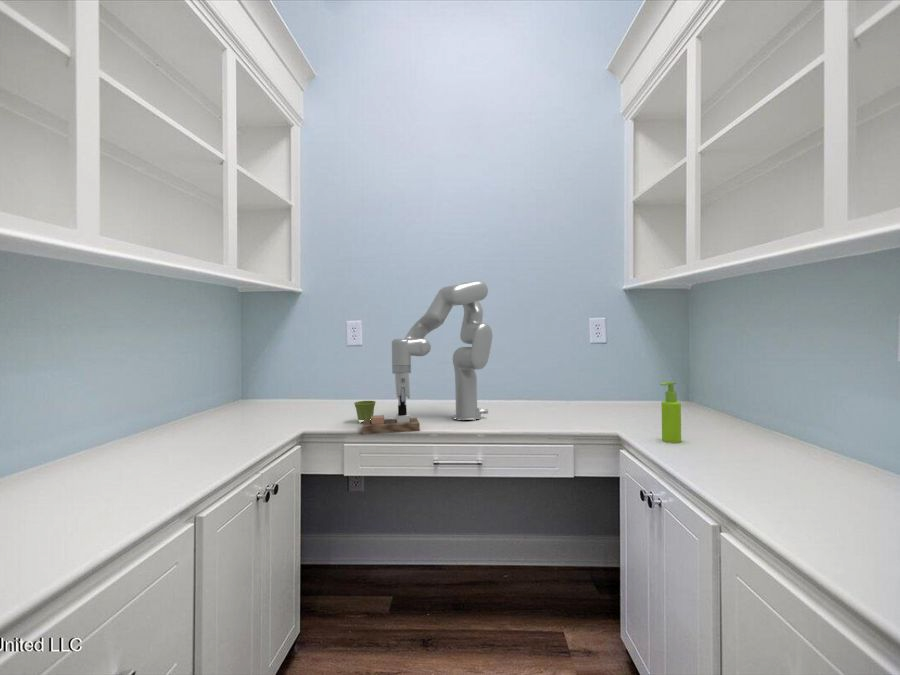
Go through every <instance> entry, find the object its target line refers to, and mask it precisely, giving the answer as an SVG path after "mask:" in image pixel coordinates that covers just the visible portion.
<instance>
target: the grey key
mask: <svg viewBox="0 0 900 675" xmlns="http://www.w3.org/2000/svg"><path fill="white" fill-rule="evenodd" d="M410 418H411V416H410V414H409V413H407V414H406V415H403V416H399V415H398V414H397V413H396V418H395V419H396V423H406V422H410Z"/></svg>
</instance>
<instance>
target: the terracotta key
mask: <svg viewBox="0 0 900 675" xmlns="http://www.w3.org/2000/svg"><path fill="white" fill-rule="evenodd" d="M384 419H385V415H384V414H382V415H381V414H379V415H378V414H377V415H373V416H371V424H384Z"/></svg>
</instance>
